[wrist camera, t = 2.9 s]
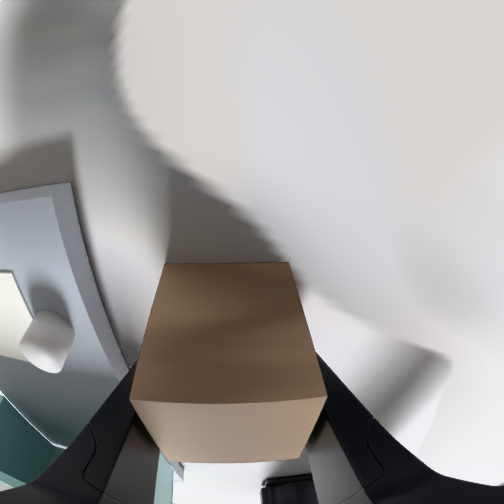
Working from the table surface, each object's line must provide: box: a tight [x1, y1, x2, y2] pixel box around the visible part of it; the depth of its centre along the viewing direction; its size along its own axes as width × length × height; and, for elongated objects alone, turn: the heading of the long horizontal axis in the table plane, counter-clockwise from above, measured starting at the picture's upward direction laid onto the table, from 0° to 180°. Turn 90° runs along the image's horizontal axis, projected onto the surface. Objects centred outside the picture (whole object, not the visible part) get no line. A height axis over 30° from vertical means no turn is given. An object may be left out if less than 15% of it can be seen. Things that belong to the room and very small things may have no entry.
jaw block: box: [129, 262, 327, 463], centre depth 8 cm, size 4×4×5 cm
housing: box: [0, 395, 174, 504], centre depth 12 cm, size 11×8×6 cm
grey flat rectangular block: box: [0, 182, 184, 482], centre depth 13 cm, size 10×25×3 cm, turn 179°
